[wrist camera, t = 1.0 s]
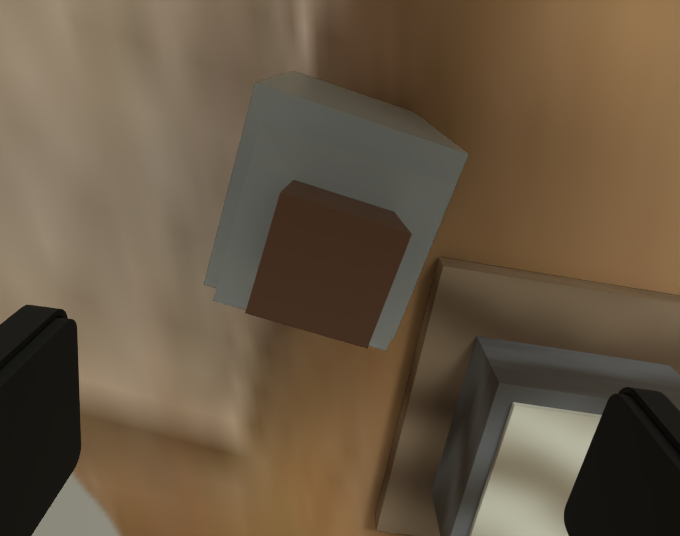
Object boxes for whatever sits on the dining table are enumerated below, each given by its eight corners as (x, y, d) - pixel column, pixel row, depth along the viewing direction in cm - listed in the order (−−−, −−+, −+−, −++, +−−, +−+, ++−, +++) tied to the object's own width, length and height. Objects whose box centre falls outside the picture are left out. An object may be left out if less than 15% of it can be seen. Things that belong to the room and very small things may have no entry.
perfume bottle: (414, 112, 29) (511, 187, 13) (373, 227, 32) (407, 420, 15) (293, 70, 29) (223, 92, 12) (260, 191, 31) (162, 352, 14)
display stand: (438, 256, 32) (462, 306, 26) (727, 303, 33) (818, 361, 27) (375, 514, 39) (381, 601, 33) (614, 545, 40) (664, 636, 34)
